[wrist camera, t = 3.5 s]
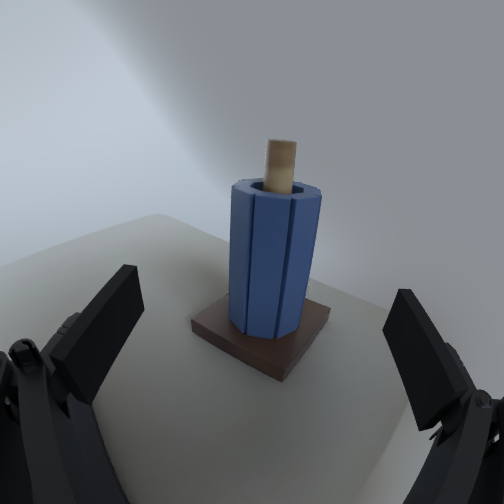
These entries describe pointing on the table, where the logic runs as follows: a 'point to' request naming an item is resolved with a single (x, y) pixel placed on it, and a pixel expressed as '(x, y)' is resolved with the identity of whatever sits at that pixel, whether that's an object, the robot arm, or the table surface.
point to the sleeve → (270, 256)
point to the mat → (94, 454)
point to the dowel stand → (217, 315)
